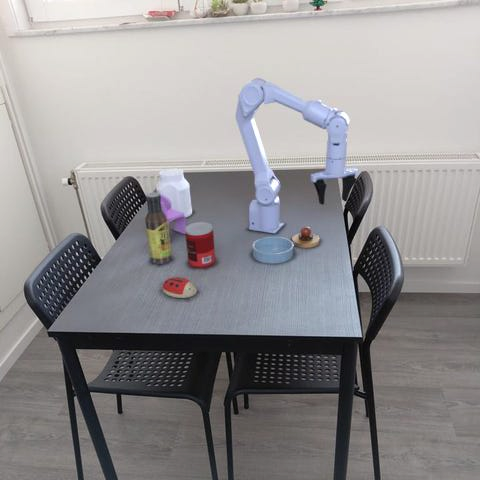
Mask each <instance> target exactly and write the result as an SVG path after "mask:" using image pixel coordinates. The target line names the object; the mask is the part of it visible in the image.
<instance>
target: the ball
mask: <svg viewBox="0 0 480 480" xmlns="http://www.w3.org/2000/svg"><path fill="white" fill-rule="evenodd" d="M300 233H301V235H302V236H303V237H309V236H310V235H311V233H312V229H311V227H309V226H303V227H302V228H301V229H300Z"/></svg>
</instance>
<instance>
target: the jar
mask: <svg viewBox="0 0 480 480" xmlns="http://www.w3.org/2000/svg"><path fill="white" fill-rule="evenodd" d="M158 175H159V176H158V178H159V181H158V183H157V185H156V186H155V189H156V193H160V194H163V195H164V196H166V197H167V198H168V199H169V200H170V201H171V209H174V210H176V211H179V212H182V213H184V216H185V219H187V218H188V217H190V216H192V214H193V207H192V200H191V199H192V198H191V190H190V188H191V187H190V183H189V181H188V180H187V179H186V178H185V176H184V175H185V174H184V170H183V169H181V168H176V167H174V168H166V169H162V170H160V171H159V172H158Z"/></svg>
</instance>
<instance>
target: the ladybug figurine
mask: <svg viewBox="0 0 480 480" xmlns="http://www.w3.org/2000/svg"><path fill="white" fill-rule="evenodd" d="M197 289H198V288H197V287H196V285H195V283H194V282H192V281H191V280H189V279H186V278H184V277H178V276H177V277H170V278H168V279H166V280H165V281H164V282H163V283H162V288H161V290H162V292H163V293H164V294H165V295H166V296H169V297H172V298H176V299H188V298H192V297H194V296H195V295H197V292H198V290H197Z"/></svg>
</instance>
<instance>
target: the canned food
mask: <svg viewBox="0 0 480 480" xmlns="http://www.w3.org/2000/svg"><path fill="white" fill-rule="evenodd" d="M184 235H185V243H186V251H187V259H188V260H187V261H188V264H189V266H190V267H192V268H194V269H207V268H211V267H212V266H214V264H215V262H216V249H215V236H214V227H213V224H211V223H210V222H206V221H199V222H193V223H190V224H188V225H186V228H185V234H184Z"/></svg>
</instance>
